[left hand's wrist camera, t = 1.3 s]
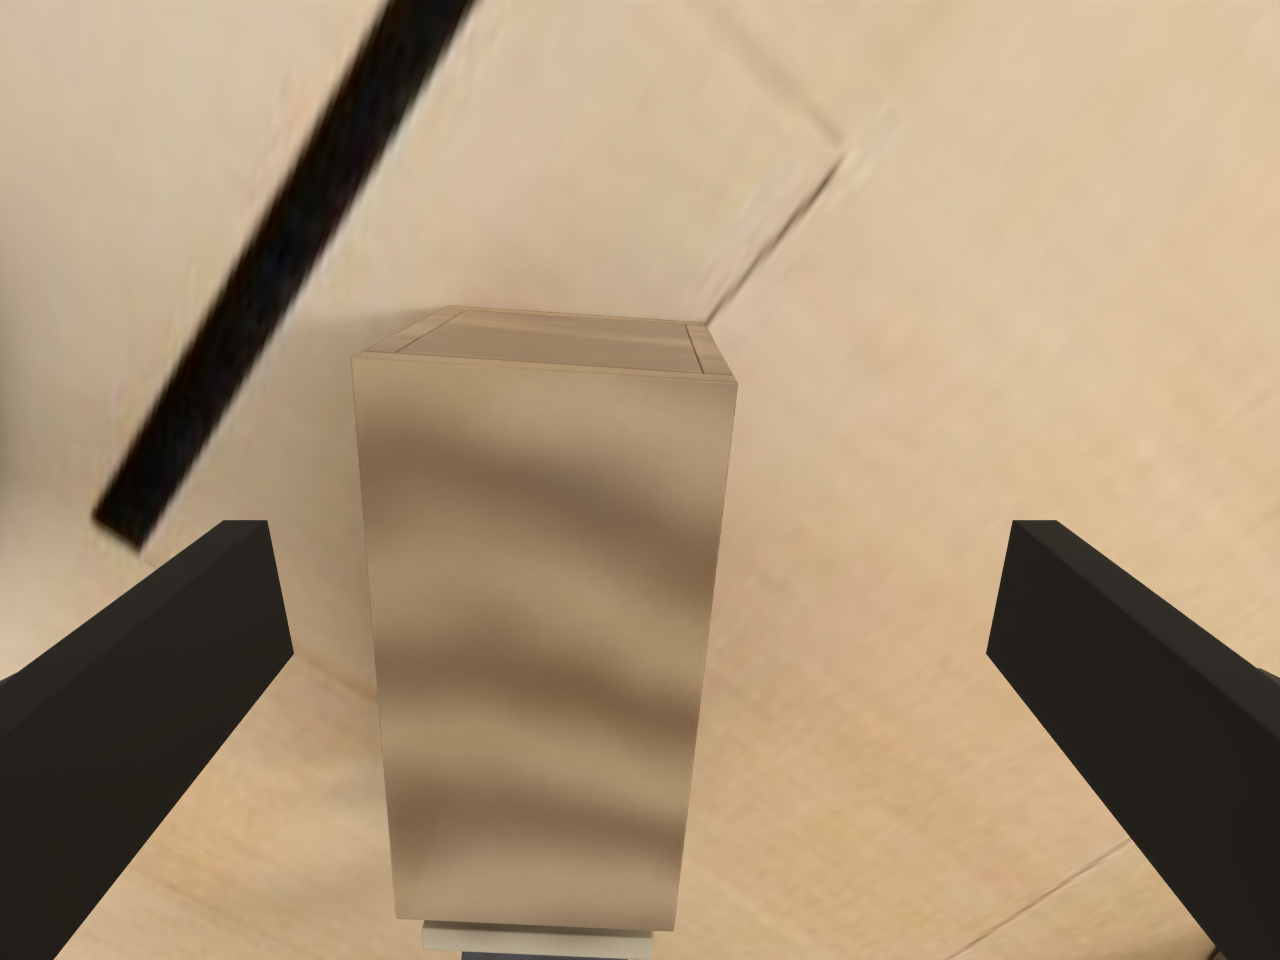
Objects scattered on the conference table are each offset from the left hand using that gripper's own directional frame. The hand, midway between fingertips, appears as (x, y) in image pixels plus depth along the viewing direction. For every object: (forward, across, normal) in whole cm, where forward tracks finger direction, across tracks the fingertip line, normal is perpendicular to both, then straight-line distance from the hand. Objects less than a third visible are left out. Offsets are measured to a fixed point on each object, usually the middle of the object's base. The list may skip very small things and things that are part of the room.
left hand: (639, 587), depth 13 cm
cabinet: (+18, -3, -8) cm, 20 cm away
